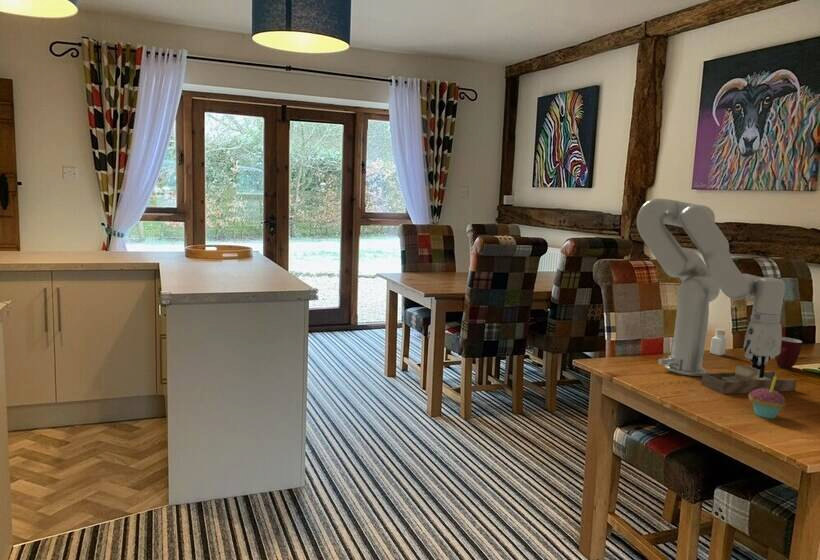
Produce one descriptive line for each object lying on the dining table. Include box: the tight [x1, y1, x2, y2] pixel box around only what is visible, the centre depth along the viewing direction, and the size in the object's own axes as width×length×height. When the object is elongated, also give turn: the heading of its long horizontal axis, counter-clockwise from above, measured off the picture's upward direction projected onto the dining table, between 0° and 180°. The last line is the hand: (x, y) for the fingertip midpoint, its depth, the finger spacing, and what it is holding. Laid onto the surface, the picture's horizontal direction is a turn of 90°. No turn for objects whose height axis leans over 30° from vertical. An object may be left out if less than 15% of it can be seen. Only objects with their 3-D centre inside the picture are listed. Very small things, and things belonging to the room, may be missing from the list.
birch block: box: [734, 365, 760, 381], centre depth 181 cm, size 4×4×4 cm
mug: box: [774, 336, 803, 370], centre depth 208 cm, size 10×8×10 cm
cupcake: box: [747, 374, 786, 419], centre depth 158 cm, size 9×8×12 cm
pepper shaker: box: [709, 328, 728, 357], centre depth 222 cm, size 4×4×10 cm
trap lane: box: [700, 370, 797, 395], centre depth 183 cm, size 28×9×4 cm, turn 106°
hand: (756, 376), depth 183 cm, fingers closed
